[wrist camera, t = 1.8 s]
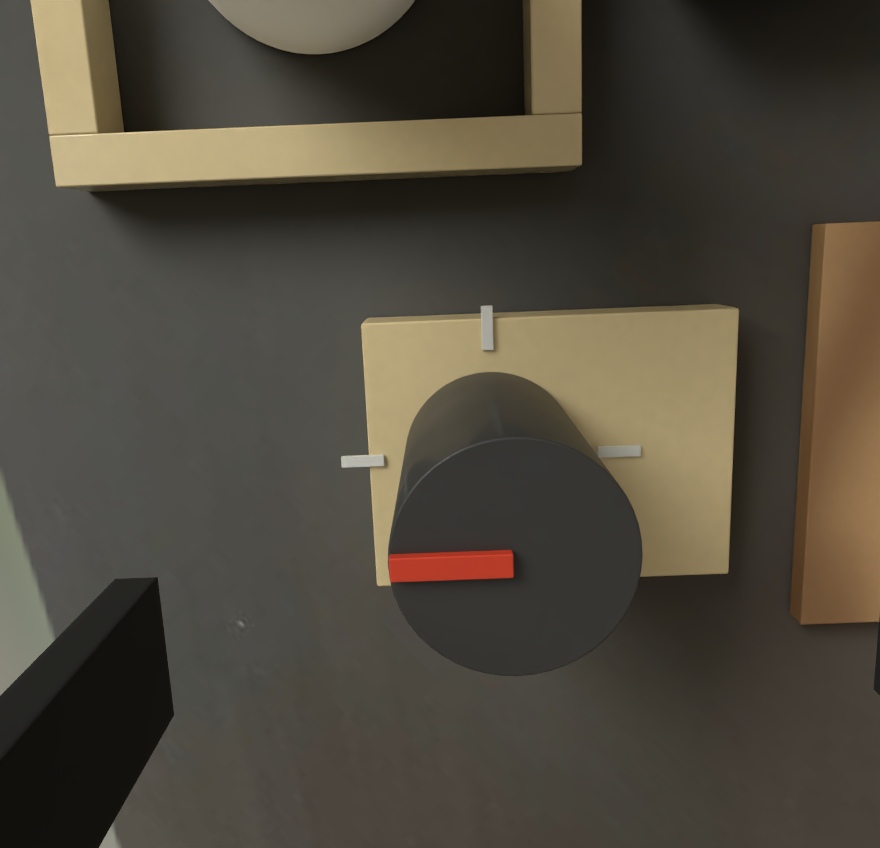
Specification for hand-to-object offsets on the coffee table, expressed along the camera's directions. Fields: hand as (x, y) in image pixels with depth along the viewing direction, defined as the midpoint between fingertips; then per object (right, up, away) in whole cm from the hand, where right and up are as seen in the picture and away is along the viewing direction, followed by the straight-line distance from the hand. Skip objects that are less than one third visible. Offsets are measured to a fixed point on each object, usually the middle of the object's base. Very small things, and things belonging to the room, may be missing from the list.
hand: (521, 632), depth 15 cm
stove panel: (+2, +3, +14) cm, 14 cm away
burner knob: (0, +3, +12) cm, 12 cm away
